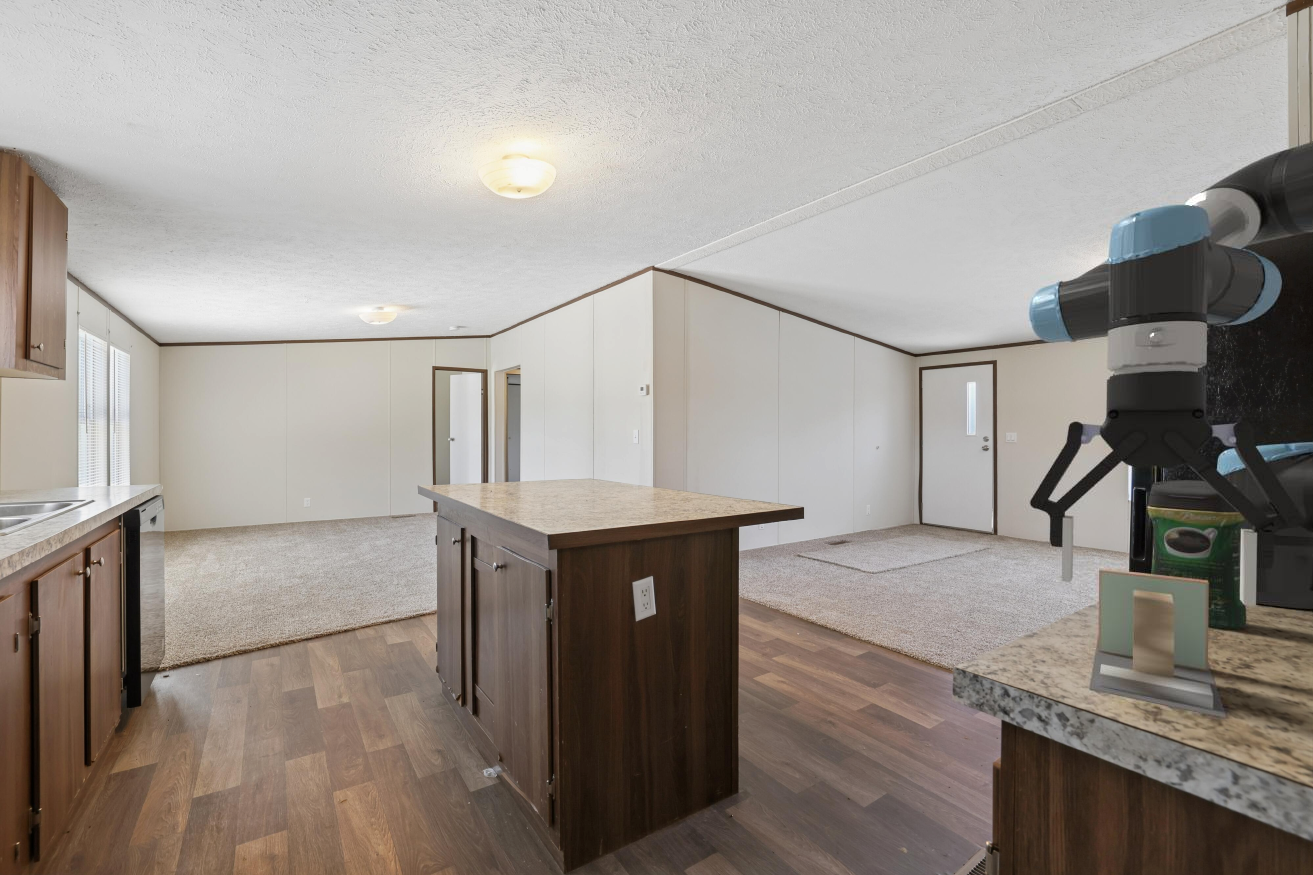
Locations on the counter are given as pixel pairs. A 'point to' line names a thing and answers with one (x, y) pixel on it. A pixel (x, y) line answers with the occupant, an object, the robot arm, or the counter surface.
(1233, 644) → the counter surface
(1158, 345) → the robot arm
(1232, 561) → the coffee jar
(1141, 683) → the upright block with backplate
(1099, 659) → the mat
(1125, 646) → the tile
